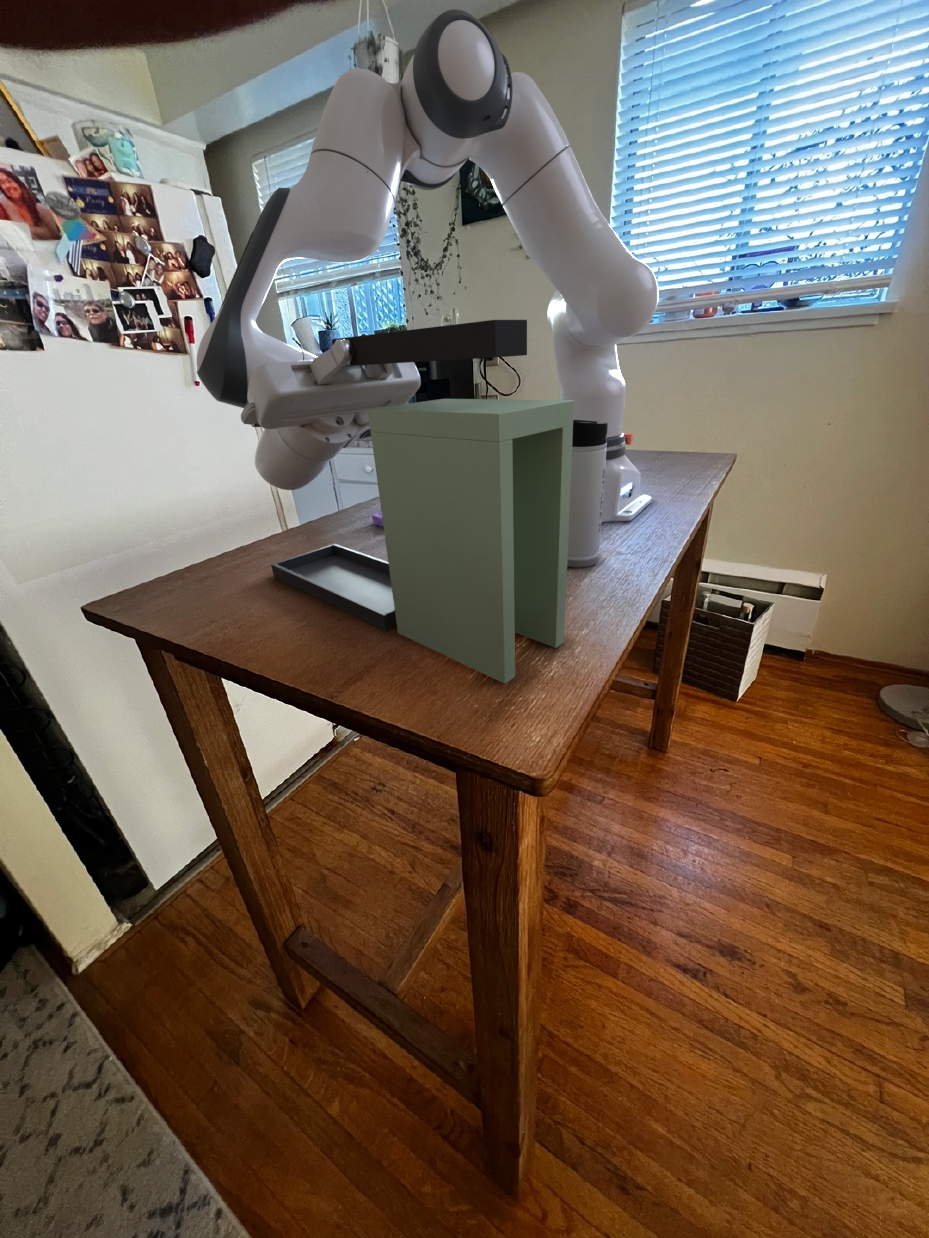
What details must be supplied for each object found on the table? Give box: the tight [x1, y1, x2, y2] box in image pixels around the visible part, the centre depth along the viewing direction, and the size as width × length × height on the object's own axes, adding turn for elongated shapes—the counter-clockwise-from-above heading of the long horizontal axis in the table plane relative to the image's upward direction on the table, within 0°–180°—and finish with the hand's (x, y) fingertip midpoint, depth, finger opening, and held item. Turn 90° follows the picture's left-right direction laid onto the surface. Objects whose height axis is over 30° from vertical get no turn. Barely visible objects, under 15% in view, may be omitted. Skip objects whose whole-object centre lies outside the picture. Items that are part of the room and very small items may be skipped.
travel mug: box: [567, 420, 608, 569], centre depth 70 cm, size 6×7×20 cm
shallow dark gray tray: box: [270, 543, 397, 632], centre depth 70 cm, size 11×27×2 cm, turn 46°
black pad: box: [331, 319, 528, 366], centre depth 46 cm, size 4×22×2 cm, turn 46°
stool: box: [368, 398, 574, 685], centre depth 50 cm, size 10×16×24 cm, turn 46°
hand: (370, 345), depth 50 cm, fingers closed on black pad, 4 cm apart
